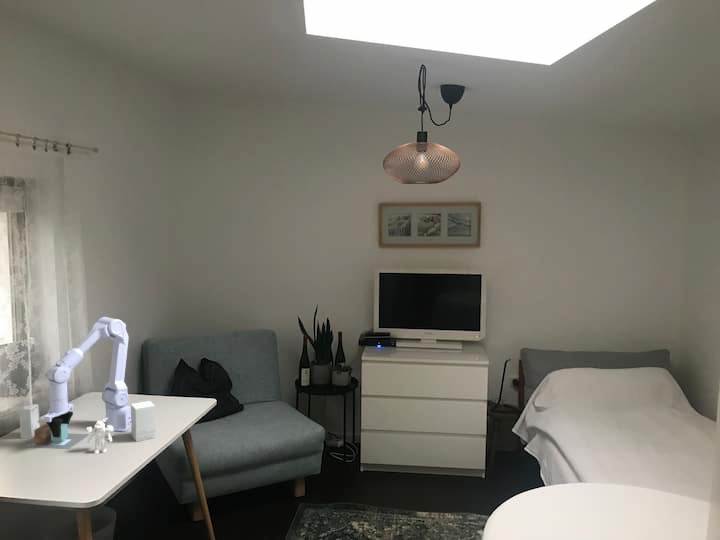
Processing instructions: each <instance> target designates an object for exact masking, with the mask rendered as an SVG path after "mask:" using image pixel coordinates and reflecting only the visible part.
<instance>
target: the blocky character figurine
mask: <svg viewBox="0 0 720 540" xmlns="http://www.w3.org/2000/svg"><path fill="white" fill-rule="evenodd" d="M107 419H108V417H107V418H106V417H105V418H102V420H97V422H96V423H95V424H94V425H93V426H94V427H92V426H87V427H86V429H85V434H88V435H89V436H88V439H87V441H86V443H87V444H88V445H90V442H92V439H93V437H95V441H94V452H93V453H97V454H99V453H100V452H101V453H102V454H104V452H105V453H106V451H108V450H107V446H106V442H107V441H108V442H109V444H110V443H112V442H113V437H112V435H111V432H114V429H113V427H112V425H111V426H110V425H107V427H106V420H107ZM106 437H107V439H106ZM100 445H101V450H100Z"/></svg>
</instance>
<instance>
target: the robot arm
mask: <svg viewBox="0 0 720 540" xmlns="http://www.w3.org/2000/svg"><path fill="white" fill-rule="evenodd" d="M104 338H105V339H106V338H109V339H110V340H111V341H112V342H113V343H112V350H111V351H112V352H111V361H110V369H109V379H108V382H106V383H105V385H104V389H103V391H102V393H101V400H102V401H103V402H104V403H105V405H104V406H105V418H107V417H108V419H107V420H106V421H105V428H107V425H110V426H111V425H112V427H113V432H126V431H127V430H128V429H131V405H127V404H128V402H129V394H128V393H129V392H128V386H127V384H126V383H125V377H126V376H125V375H126V366H127V356H128V348H129V339H130V338H129V333H128V332H127V324H126V323H125V322H124V321H123V320H121V319H117V318H111V317H108V316H102V317H100V318H99V319H98V320H97V322H95V323H94V324H93V326H92V329H91V330H89V331H88V333H87V334H86V335H85V336H84V338H82V340H81V341H80V342H79V344H78V345H77V346H76V347H75V348H70V349H69V350H66V351H65V352H64V353H65V354H63V356H62V357H61V358H60V359H59V360H57V361H56V362H55V364H53V365H51V366H50V367H49V368H48V369H47V370H46V373H45V377H46V379H47V380H48V381H49V383H48V385H49V386H48V387H49V390H48V391H49V409H48V410H47V414H46V415H45V416H44V417H43V418H44V420H43V421H44V423H45V424H46V423H47V424H48V426H49V427H50V429H51V432H52V435H53V437H60V430H61V424H68V427H69V425H70V421H71V419H72V417H73V415H74V412H73V411H70V410H74V404H73V403H69V402H68V401H69V399H68V380H69V379H70V377H71V373H72V371H73V370H74V369H75V368H76V367H77V366H78V365H79V364H80V362H82V361H83V359H84V354H85V353H86V352H87V351H88V350H89V349H90V348H91V347H92V346H93V345H94V344H95V343H97V341H99V339H104Z"/></svg>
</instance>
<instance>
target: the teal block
mask: <svg viewBox="0 0 720 540" xmlns="http://www.w3.org/2000/svg"><path fill="white" fill-rule="evenodd" d="M68 433H69V426H68V424H61V430H60V437H53V435H52V432H51V441H63V440H64V439H66V438H68Z"/></svg>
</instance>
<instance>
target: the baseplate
mask: <svg viewBox="0 0 720 540" xmlns="http://www.w3.org/2000/svg"><path fill="white" fill-rule="evenodd" d="M88 434H89V433H88ZM88 434H87V433H73V432H72V433H70V432H68V438H66V439H64V440H63V441H49V442H48V443H46V444H35V441H34V442H32V443H31V444H29V445H27V446H26V448H33V449H35V448H36V449H55V450H56V449H59V450H60V449H61V450H70V449H71V448H73V447H74V446H76V445H77V444H79V443H80V442H81V441H83V440H84V439H86V438H87V437H90V435H88Z"/></svg>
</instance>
